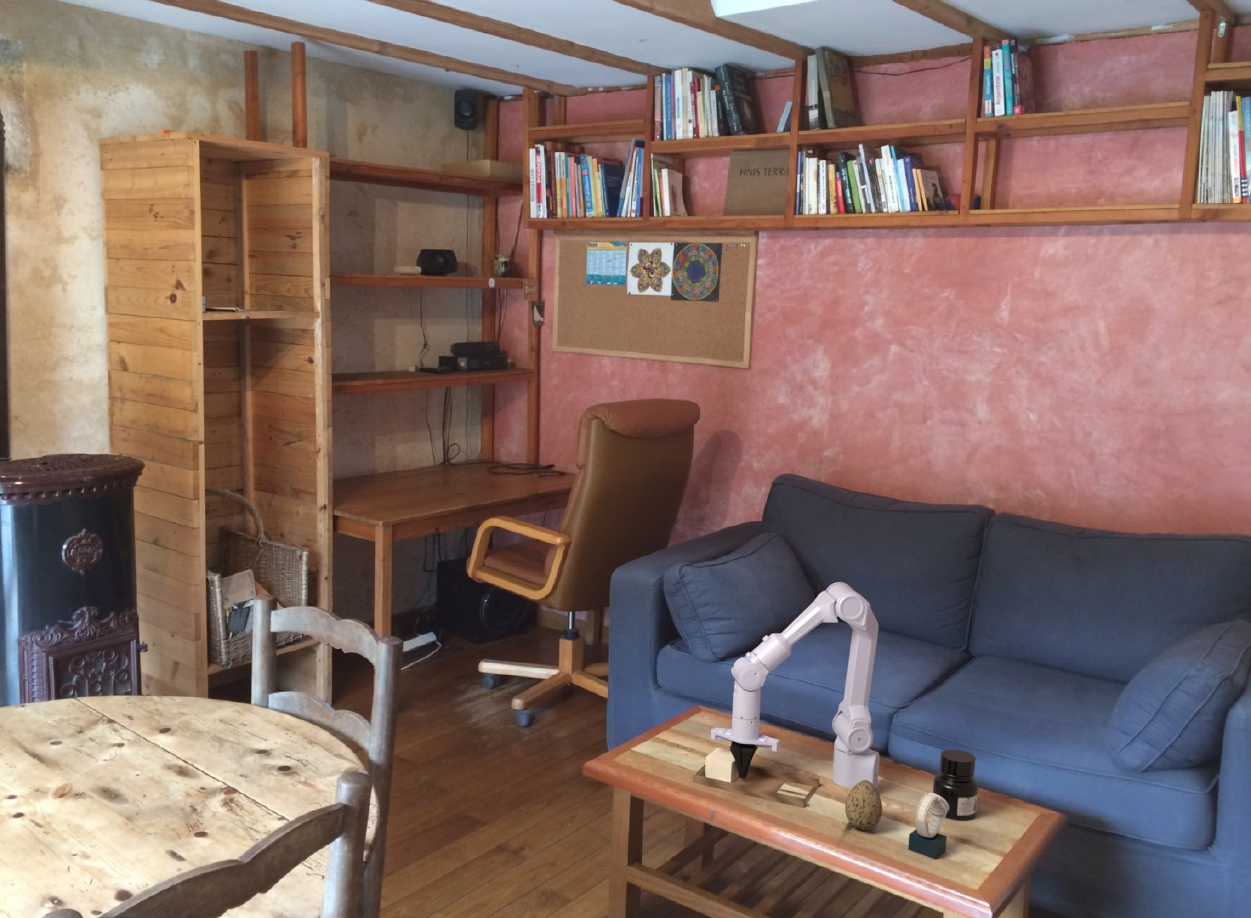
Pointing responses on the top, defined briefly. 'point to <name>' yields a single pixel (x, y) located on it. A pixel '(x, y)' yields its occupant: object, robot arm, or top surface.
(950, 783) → the ink bottle
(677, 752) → the top surface
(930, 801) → the watch
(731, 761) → the ivory block
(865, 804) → the decorative egg
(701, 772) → the box
